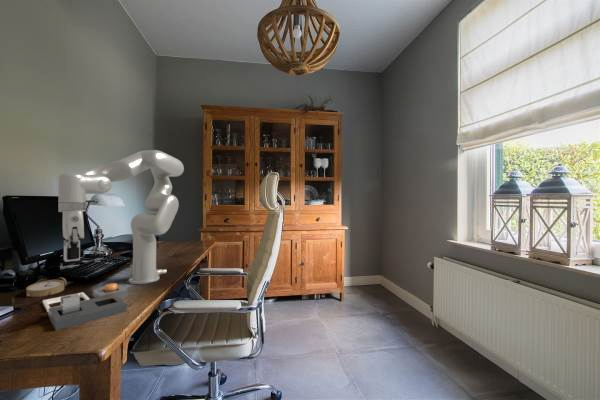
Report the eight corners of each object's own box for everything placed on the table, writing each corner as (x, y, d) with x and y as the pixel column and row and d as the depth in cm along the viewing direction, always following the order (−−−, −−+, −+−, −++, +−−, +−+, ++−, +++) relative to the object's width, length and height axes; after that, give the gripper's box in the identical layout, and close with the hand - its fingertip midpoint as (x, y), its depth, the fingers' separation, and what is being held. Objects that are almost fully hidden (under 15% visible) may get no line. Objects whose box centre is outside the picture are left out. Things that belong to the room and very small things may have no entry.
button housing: (120, 291, 111) (120, 284, 111) (127, 297, 106) (127, 289, 106) (93, 297, 105) (93, 290, 105) (99, 304, 99) (99, 295, 99)
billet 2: (76, 314, 89) (76, 293, 89) (79, 318, 86) (79, 296, 86) (59, 318, 86) (60, 296, 85) (62, 322, 83) (62, 299, 83)
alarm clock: (19, 292, 101) (37, 275, 115) (20, 304, 102) (38, 286, 116) (57, 289, 106) (71, 272, 119) (58, 300, 107) (71, 282, 120)
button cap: (115, 288, 108) (115, 282, 108) (118, 290, 105) (118, 284, 105) (103, 291, 105) (103, 284, 105) (106, 293, 102) (106, 287, 102)
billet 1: (77, 258, 100) (78, 239, 100) (80, 260, 98) (80, 240, 98) (63, 260, 97) (63, 240, 97) (64, 262, 95) (65, 241, 95)
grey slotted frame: (113, 302, 101) (114, 294, 101) (126, 312, 92) (126, 304, 92) (48, 317, 87) (48, 308, 87) (55, 332, 78) (55, 321, 78)
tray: (83, 295, 106) (83, 292, 106) (90, 303, 99) (90, 299, 99) (42, 304, 98) (42, 300, 98) (47, 313, 90) (47, 309, 90)
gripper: (90, 208, 95) (90, 260, 95) (81, 206, 106) (80, 253, 106) (62, 208, 89) (61, 263, 89) (55, 206, 100) (55, 256, 100)
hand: (72, 257), depth 98 cm, fingers closed on billet 1, 4 cm apart
